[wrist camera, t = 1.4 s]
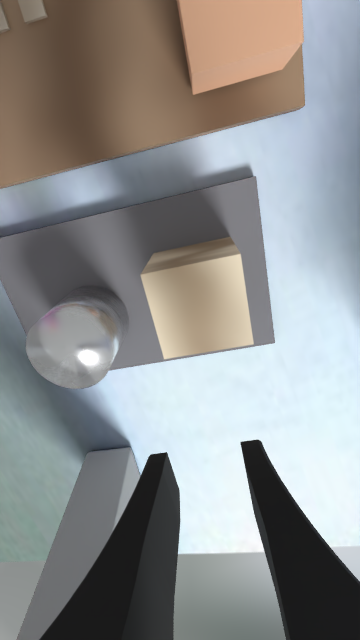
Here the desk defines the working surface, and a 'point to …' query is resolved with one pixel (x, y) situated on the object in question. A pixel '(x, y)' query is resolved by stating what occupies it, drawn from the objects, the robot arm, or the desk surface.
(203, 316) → the birch cube
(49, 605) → the vintage mobile phone
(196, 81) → the block
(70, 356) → the grey cylinder
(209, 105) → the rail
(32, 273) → the mat
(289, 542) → the robot arm
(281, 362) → the desk surface
